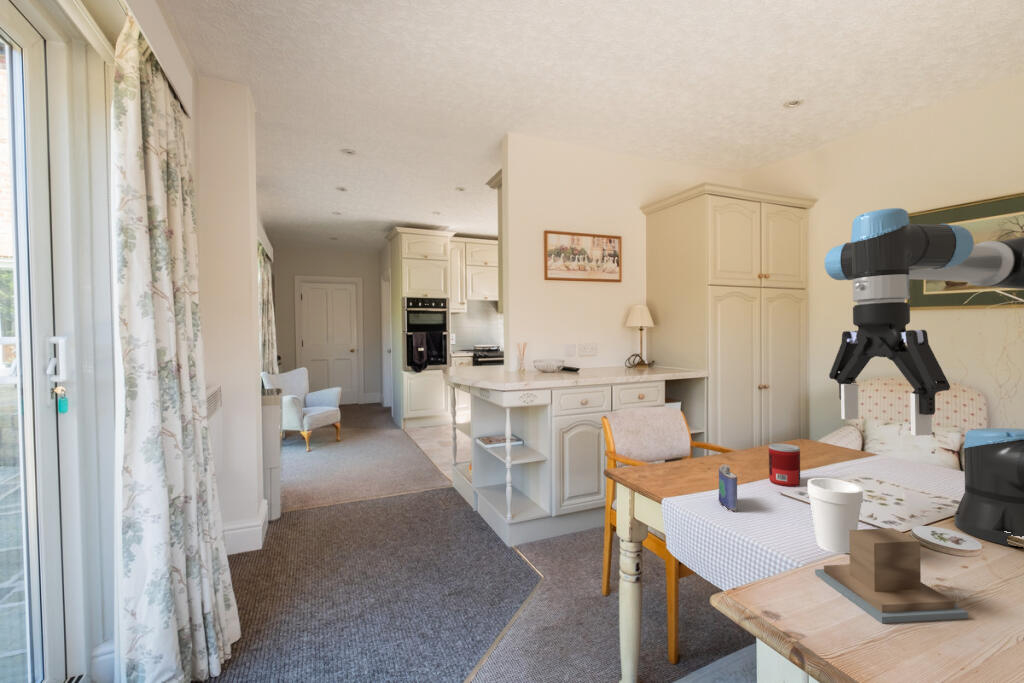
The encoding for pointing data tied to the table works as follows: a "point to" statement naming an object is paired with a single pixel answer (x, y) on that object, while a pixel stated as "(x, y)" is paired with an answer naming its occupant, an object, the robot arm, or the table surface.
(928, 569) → the table surface
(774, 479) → the canned food
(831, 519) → the foam cup
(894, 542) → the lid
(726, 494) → the flask
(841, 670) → the table surface
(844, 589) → the mat
